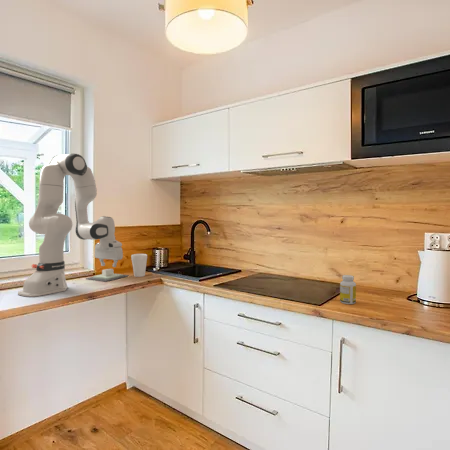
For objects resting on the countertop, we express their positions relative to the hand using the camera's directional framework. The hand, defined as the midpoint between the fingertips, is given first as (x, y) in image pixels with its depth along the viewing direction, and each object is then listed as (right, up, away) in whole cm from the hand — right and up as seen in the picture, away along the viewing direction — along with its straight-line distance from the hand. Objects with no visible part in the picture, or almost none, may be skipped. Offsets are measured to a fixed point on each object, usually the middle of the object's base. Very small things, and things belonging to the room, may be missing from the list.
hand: (108, 266), depth 202 cm
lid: (0, -6, 0) cm, 6 cm away
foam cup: (+17, -7, +5) cm, 19 cm away
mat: (0, -7, 0) cm, 7 cm away
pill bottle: (+123, -9, -55) cm, 135 cm away
